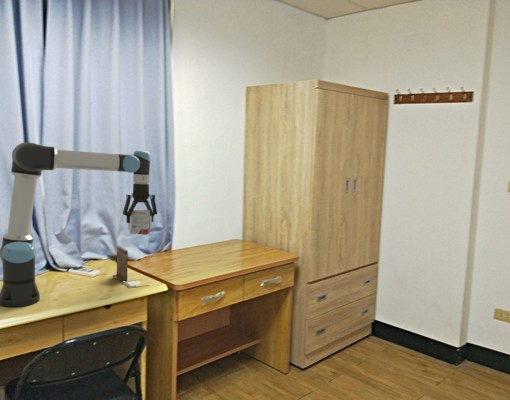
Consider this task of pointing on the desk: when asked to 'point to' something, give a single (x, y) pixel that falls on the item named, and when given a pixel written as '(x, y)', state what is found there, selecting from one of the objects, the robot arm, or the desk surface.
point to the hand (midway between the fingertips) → (139, 229)
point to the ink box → (140, 221)
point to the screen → (121, 264)
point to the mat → (132, 283)
